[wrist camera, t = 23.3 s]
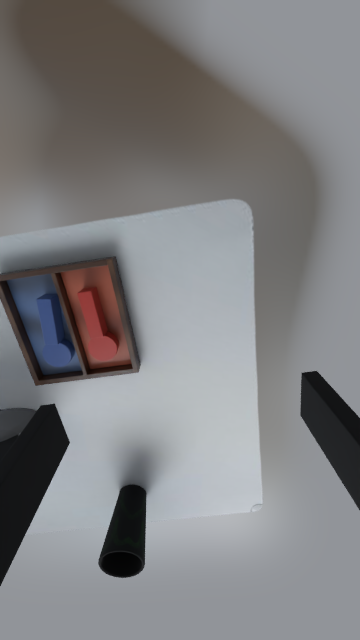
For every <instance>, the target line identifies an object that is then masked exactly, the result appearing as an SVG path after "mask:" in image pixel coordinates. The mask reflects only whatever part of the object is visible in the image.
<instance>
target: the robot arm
mask: <svg viewBox="0 0 360 640" xmlns="http://www.w3.org/2000/svg"><path fill="white" fill-rule="evenodd" d="M301 417H302V418H303V420H304V421H305V423H306V425H307V427H308V428H309V430H310V431H311V433H312V435H313V436H314V438H315V439H316V441H317V443H318V444H319V445H320V447H321V449H322V450H323V452H324V454H325V455H326V457H327V459H328V460H329V462H330V463H331V465H332V466H333V468H334V470H335V471H336V473H337V475H338V476H339V478H340V479H341V481H342V483H343V484H344V486H345V487H346V489H347V491H348V492H349V494H350V495H351V497H352V498H353V500H354V502H355V503H356V505H357V507H358V508H359V510H360V418H359V417H358V416H357V415H356V413H355V412H354V411H353V410H352V409H351V408H350V407H349V406H348V405H347V404H346V403H345V402H344V400H343V399H342V398H341V397H340V396H339V395H338V394H337V393H336V392H335V390H334V389H333V388H332V387H331V386H330V385H329V384H328V383H327V382H326V381H325V379H324V378H323V377H322V376H321V375H320V374H319V373H318V372H317V371H313V372H305V373H302V380H301ZM69 443H70V442H69V439H68V437H67V434H66V432H65V429H64V426H63V424H62V421H61V419H60V416H59V414H58V411H57V408H56V406H55V404H49V405H41V406H40V408H39V409H38V410H37V412H36V413H35V414H34V416H33V417H32V418H31V420H30V421H29V423H28V424H27V425H26V427H25V428H24V429H23V431H22V432H21V433H20V435H19V436H18V437H17V439H16V440H15V442H14V443H13V444H12V446H11V447H10V448H9V450H8V451H7V452H6V454H5V455H4V456H3V458H2V459H1V461H0V586H1V584H2V581H3V579H4V577H5V575H6V573H7V571H8V569H9V567H10V565H11V563H12V561H13V559H14V557H15V555H16V553H17V550H18V548H19V546H20V544H21V542H22V540H23V538H24V536H25V534H26V532H27V530H28V528H29V526H30V524H31V522H32V520H33V518H34V515H35V513H36V511H37V509H38V507H39V505H40V503H41V501H42V499H43V497H44V495H45V493H46V491H47V489H48V487H49V485H50V482H51V480H52V478H53V476H54V474H55V472H56V470H57V468H58V466H59V464H60V462H61V460H62V458H63V456H64V454H65V451H66V449H67V447H68V445H69Z"/></svg>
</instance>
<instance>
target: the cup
mask: <svg viewBox="0 0 360 640" xmlns="http://www.w3.org/2000/svg"><path fill="white" fill-rule="evenodd" d="M145 528H146V491H145V490H144V489H143V488H142V487H140V486H138V485H127V486H125V487H123V488H122V489H121V490H120V493H119V496H118V500H117V503H116V506H115V509H114V512H113V516H112V519H111V522H110V525H109V529H108V532H107V535H106V538H105V542H104V545H103V548H102V551H101V554H100V558H99V566H100V568H101V569H102V571H104V572H105V573H106V574H108V575H111V576H114V577H121V578H126V577H131V576H135V575H137V574H139V573H140V572H141V571H142V570H143V568H144V565H145Z"/></svg>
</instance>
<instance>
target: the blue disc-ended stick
mask: <svg viewBox="0 0 360 640" xmlns="http://www.w3.org/2000/svg"><path fill="white" fill-rule="evenodd" d="M36 301H37V306H38V311H39V317H40V322H41V327H42V332H43V338H44V343H45V346H44V348H43V351H42V354H43V357H44V359H45V361H46V362H47V363H49V364H50V365H52V366H55V367H63V366H66V365H67V364H68V363H69V362H70V361H71V360H72V358H73V357H74V354H75V349H74V346H73V345H72V343H71V342H69V341H68V340H66V339H64V338H65V334H64V327H63V321H62V315H61V308H60V302H59V298H58V294H44V295H43V296H41V297H39V298H37V299H36Z"/></svg>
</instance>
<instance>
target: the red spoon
mask: <svg viewBox="0 0 360 640" xmlns="http://www.w3.org/2000/svg"><path fill="white" fill-rule="evenodd" d="M77 295H78V298H79V302H80V305H81V308H82V312H83V315H84V319H85V322H86V325H87V329H88V332H89V336H90V339H91V340H90V341H89V343H88V350H89V352H90V354H91V355H92V356H93V357H94V358H95V359H97V360H100V361H108V360H110V359H112V358H113V357H114V356H115V355H116V353H117V351H118V349H119V341H118V339H117V337H116V336H115V335H114V334H112V333H110V332H107V331H108V329H107V325H106V321H105V317H104V314H103V310H102V306H101V302H100V298H99V295H98V291H97V287H90V288H83V289H82V290H81V291H79V292H78V293H77Z"/></svg>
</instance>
